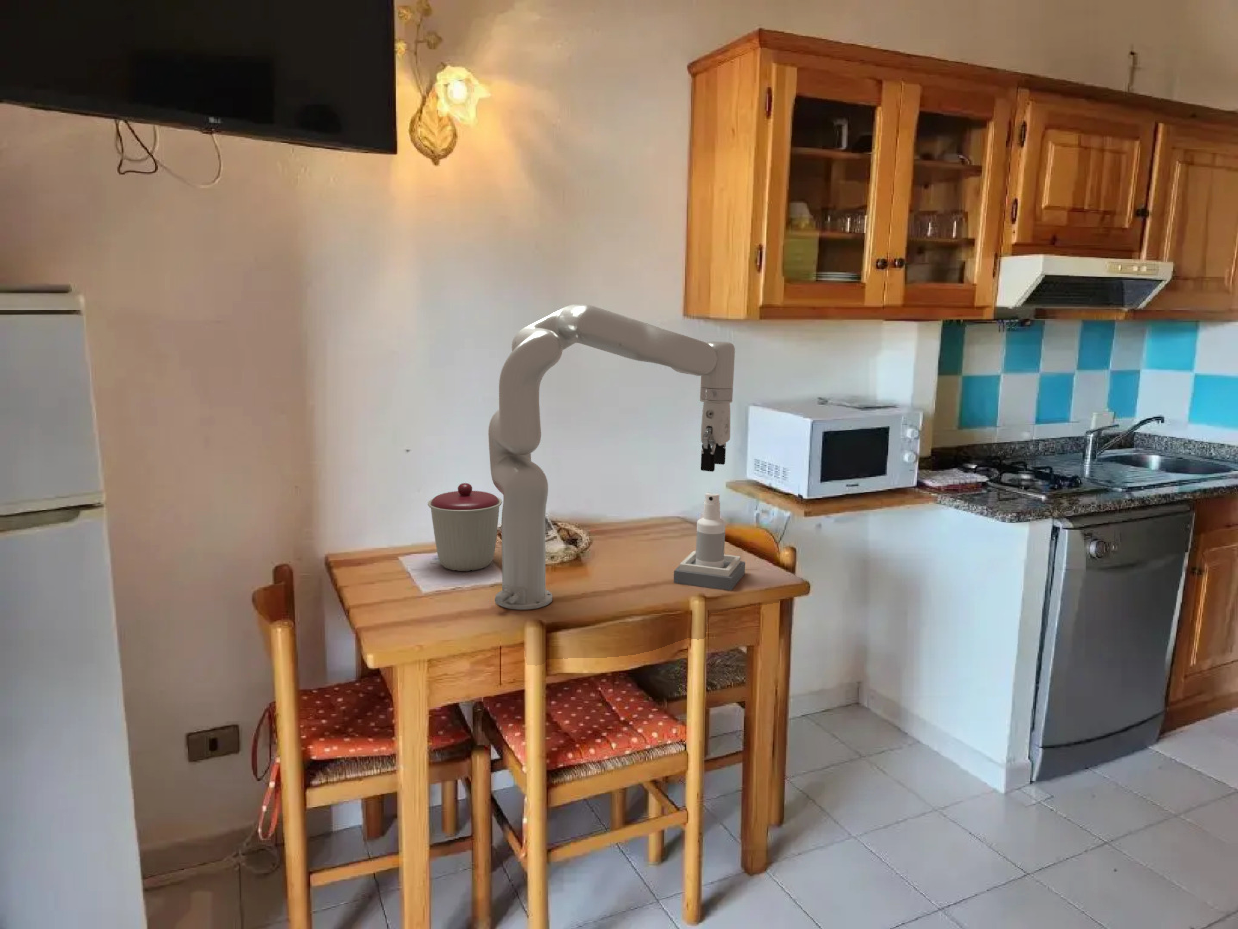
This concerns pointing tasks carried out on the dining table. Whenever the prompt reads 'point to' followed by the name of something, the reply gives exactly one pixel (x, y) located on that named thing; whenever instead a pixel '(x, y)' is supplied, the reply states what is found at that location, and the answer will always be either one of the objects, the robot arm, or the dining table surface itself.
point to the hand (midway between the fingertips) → (713, 467)
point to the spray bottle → (710, 534)
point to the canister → (465, 527)
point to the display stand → (710, 573)
